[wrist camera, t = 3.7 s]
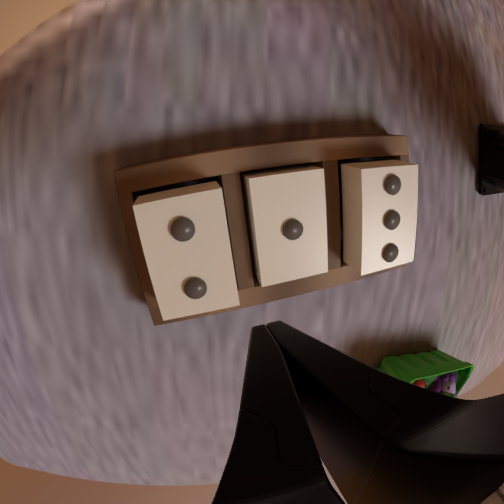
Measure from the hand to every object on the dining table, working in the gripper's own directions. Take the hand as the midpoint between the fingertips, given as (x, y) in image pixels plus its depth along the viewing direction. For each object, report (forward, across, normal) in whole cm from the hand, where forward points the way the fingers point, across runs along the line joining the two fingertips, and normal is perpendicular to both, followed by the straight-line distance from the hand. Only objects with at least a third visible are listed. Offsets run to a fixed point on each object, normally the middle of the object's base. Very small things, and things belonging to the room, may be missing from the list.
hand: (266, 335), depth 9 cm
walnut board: (+10, -4, 0) cm, 11 cm away
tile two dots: (+9, +2, 0) cm, 9 cm away
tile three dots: (+9, -9, 0) cm, 13 cm away
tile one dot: (+10, -4, 0) cm, 11 cm away
